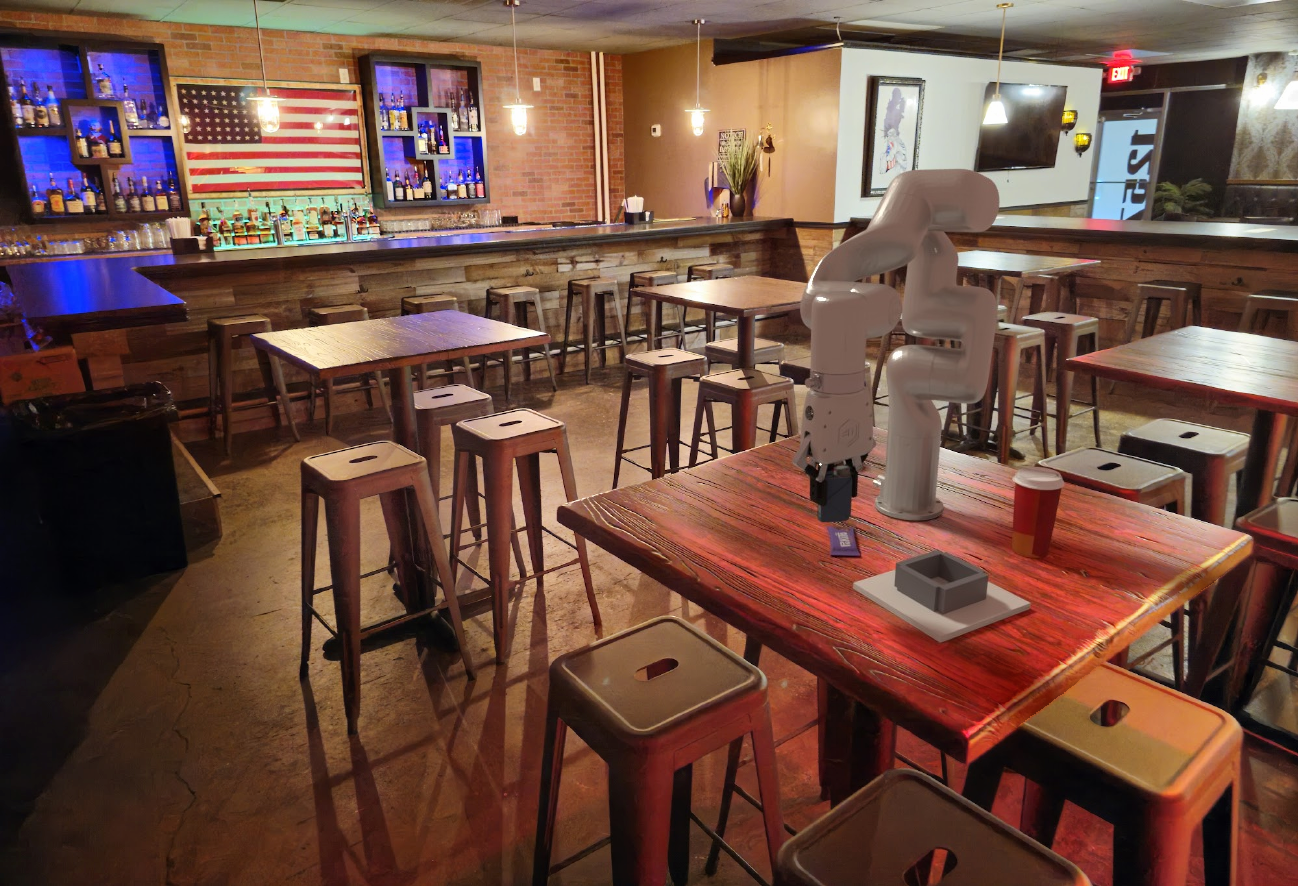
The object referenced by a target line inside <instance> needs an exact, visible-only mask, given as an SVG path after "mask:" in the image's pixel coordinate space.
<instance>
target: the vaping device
mask: <svg viewBox="0 0 1298 886" xmlns="http://www.w3.org/2000/svg"><path fill="white" fill-rule="evenodd" d="M818 466H819V463H817V467H818ZM824 480H826V481H827V483H828V485H827V504H826V506H823V507H822V506H820V505H818V504H817V513H816V514H817V515H816V516H817V517H816V518H817V521H819V522H821V523H834V522H835V523H836V522H837V523H839V522H848V521H849V519H850V516H851V515H852V501H853V500H852V499H853V497H852V477H851V473H850V467H848V466H845V465H844V464H839V465H837V466H835V465H834V463H831V464H828V466H827V470H826V474H825V478H824Z"/></svg>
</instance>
